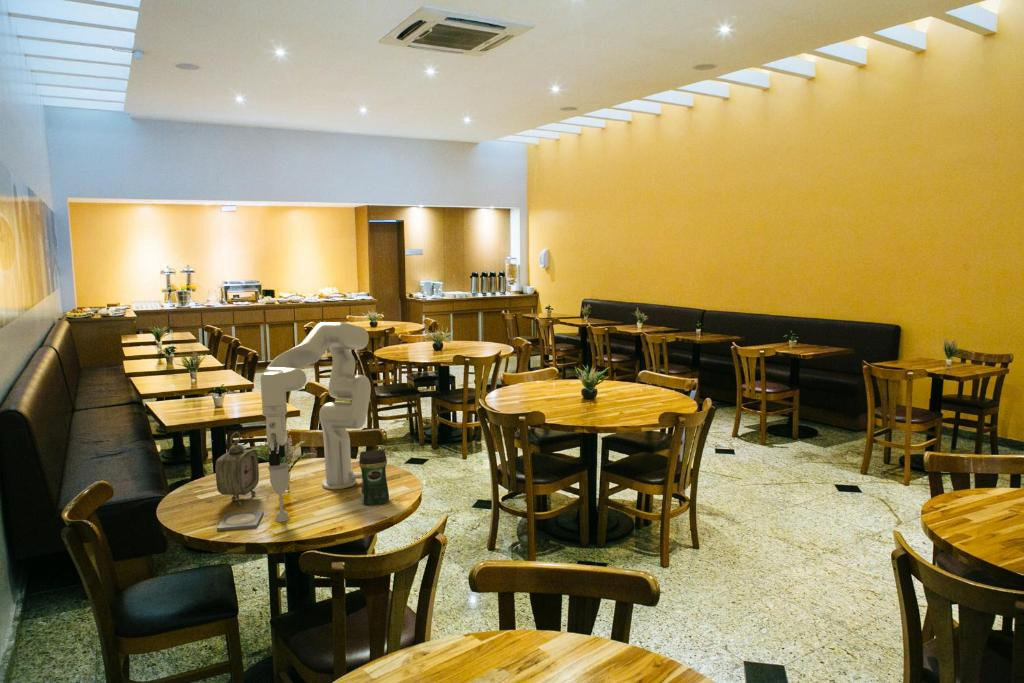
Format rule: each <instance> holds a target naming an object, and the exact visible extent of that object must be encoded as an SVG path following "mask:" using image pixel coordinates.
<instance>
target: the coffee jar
mask: <svg viewBox="0 0 1024 683" xmlns="http://www.w3.org/2000/svg"><path fill="white" fill-rule="evenodd" d="M358 464H359V468H360V471H361V474H362V479H361V490H360V491H361V496H360V497H361V498H360V500H361V503H362V504H363V505H364V506H377V505H382V504H386V503H388V502H389V500H390V494H389V486H388V480H387V474H386V473H387V472H386V470H387V469H386V467H387V464H388V459H387V455H386V452H385V450H384V449H383V448H382V449H373V450H365V451H360V452H359V460H358Z"/></svg>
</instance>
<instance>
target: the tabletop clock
mask: <svg viewBox="0 0 1024 683" xmlns="http://www.w3.org/2000/svg"><path fill="white" fill-rule="evenodd" d="M236 435H238V439H235V440H233V437H234V436H236ZM241 438H242V435H241V433H240V431H235V432H233V433H232V434H231V436H230V439H229V441H230V445H231V446H230V447H229V448H228V451H227V452H226V453H224V454H222V455H221V456H220V457H218V458H217V459H216V461H215V468H214V469H215V483H216V488H217V492H218V493H219V494H221V495H223V496H229V495H230V496H231V499H230V500H231V501H234V500H235V501H236V500H237V502H236V505H237V507H241V506H242V501H240V496H246V495H247V494H249V493H250V495H251V496H254V495H256V492H257V491H255V490H254V489H255V488H256V487H257V486H258V484H259V481H260V480H259V478H260V468H259V458H258V452H257V449H245V448H244V446H243V445H241V444H239V443H240V441H241ZM232 441H233V442H232ZM235 501H234V502H235Z"/></svg>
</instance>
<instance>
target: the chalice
mask: <svg viewBox="0 0 1024 683" xmlns="http://www.w3.org/2000/svg"><path fill="white" fill-rule="evenodd" d="M289 467H290V464H289V463H287V462H280V465H279V466H270V465H269V466H267V469H268V471H269V482H270V485H271V487H272V489H273V491H274V492H275V494H277V495H278V502H279V503H278V507H279V510H278V512H276V514H275V517H274V518H273V520H275V521H274V522H278V523H282V522H287V521H289V520H290V519H291V517H290V514H289V513H288V511H287V510H284V505H285V503H283V500H284V498H283V494H285V492H286V489H287V487H288V484H289V480H290V476H289Z"/></svg>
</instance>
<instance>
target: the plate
mask: <svg viewBox="0 0 1024 683" xmlns="http://www.w3.org/2000/svg"><path fill="white" fill-rule="evenodd" d="M262 515H263V516H264V510H260V511H247V512H233V513H225V514H224V517H223V518H222V519H221V520H220V522H219V524H218V526H217V527H216V531H217V530H218V531H217V532H220V531H219V530H225V531H234V529H237V530H244V529H245V530H246V528H249V529H257V527H258V526H259V524H260V522H261V520H262V518H263V516H262ZM261 517H262V518H261Z"/></svg>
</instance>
